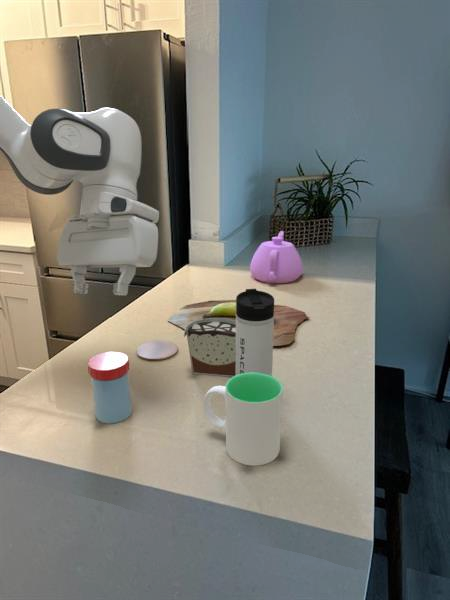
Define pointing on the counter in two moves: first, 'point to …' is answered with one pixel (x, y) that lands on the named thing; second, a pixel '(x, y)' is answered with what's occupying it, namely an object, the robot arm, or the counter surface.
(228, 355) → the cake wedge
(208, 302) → the cutting board
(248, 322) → the travel mug
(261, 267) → the teapot
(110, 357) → the lid
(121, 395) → the jar
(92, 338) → the counter surface
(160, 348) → the coaster
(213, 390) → the mug
